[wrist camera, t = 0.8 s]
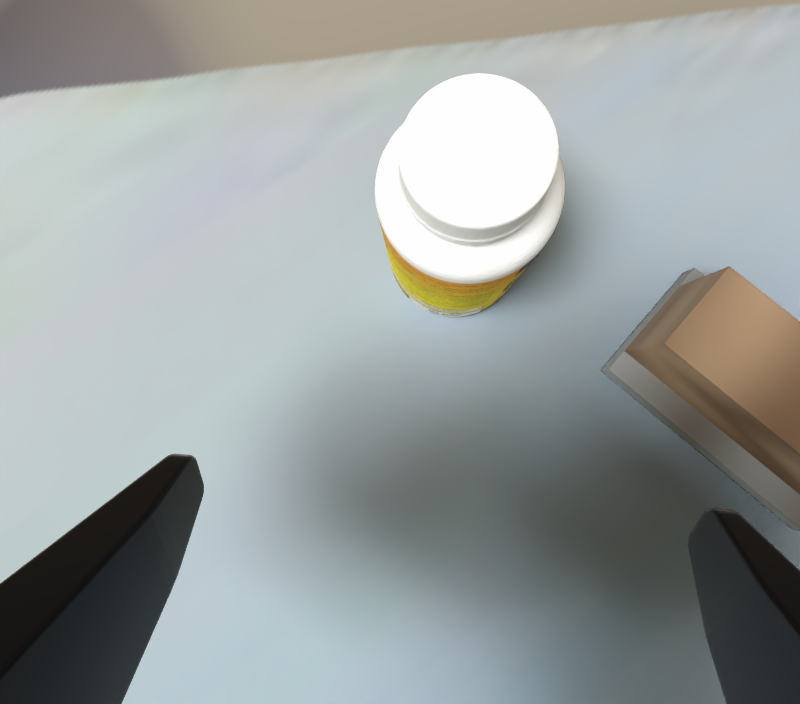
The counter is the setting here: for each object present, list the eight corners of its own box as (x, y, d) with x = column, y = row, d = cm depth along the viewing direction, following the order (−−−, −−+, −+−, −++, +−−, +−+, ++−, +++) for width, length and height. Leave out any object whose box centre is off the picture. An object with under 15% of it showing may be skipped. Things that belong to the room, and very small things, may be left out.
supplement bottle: (503, 331, 22) (569, 283, 12) (378, 304, 23) (341, 236, 12) (528, 208, 23) (614, 61, 12) (406, 184, 23) (390, 21, 13)
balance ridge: (875, 426, 21) (996, 437, 17) (791, 528, 21) (889, 566, 17) (682, 273, 22) (748, 244, 18) (600, 370, 22) (645, 365, 17)
